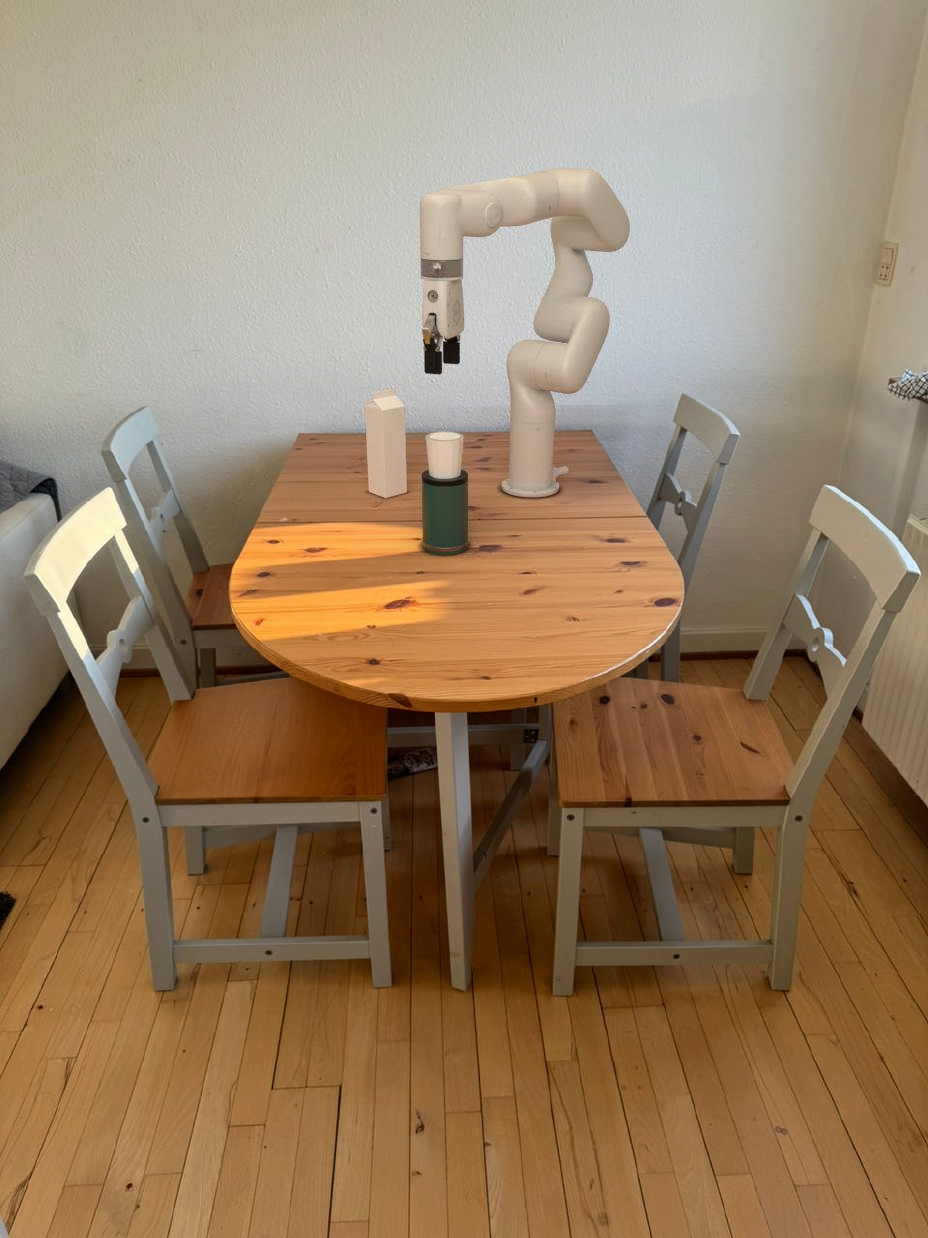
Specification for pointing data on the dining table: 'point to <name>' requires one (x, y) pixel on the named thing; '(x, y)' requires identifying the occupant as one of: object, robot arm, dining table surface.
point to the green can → (445, 514)
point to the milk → (386, 444)
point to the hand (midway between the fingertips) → (442, 368)
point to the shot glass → (444, 454)
